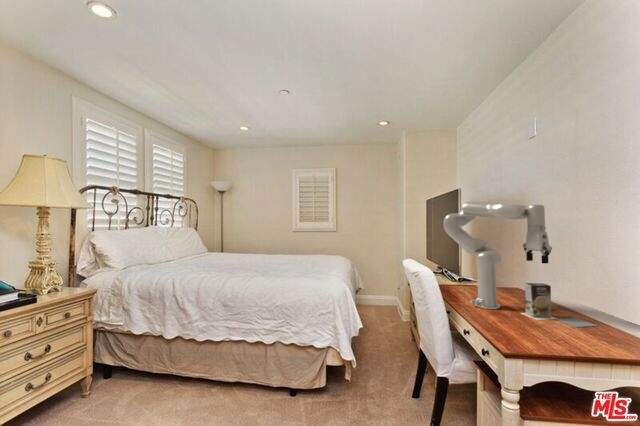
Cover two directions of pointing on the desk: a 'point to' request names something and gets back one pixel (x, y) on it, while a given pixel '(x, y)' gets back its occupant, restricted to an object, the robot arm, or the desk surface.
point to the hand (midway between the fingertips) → (537, 261)
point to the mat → (576, 322)
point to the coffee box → (538, 299)
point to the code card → (539, 317)
